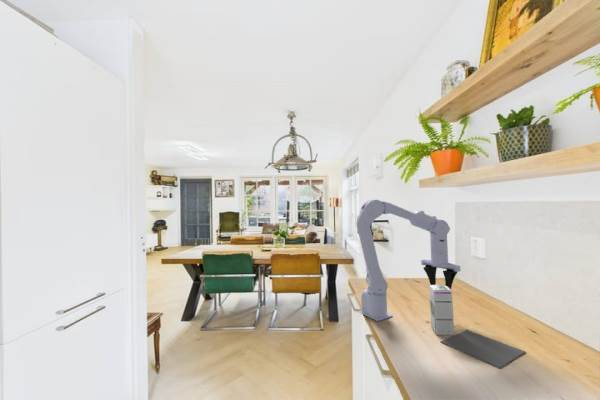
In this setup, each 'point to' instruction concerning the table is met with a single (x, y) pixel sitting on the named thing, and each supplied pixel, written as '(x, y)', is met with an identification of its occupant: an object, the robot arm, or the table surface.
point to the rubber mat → (483, 348)
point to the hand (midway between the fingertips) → (440, 287)
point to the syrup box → (441, 310)
